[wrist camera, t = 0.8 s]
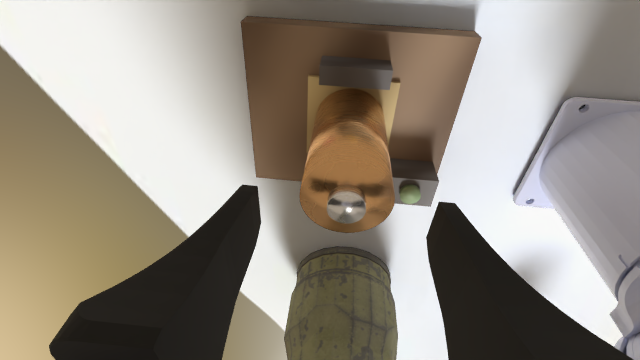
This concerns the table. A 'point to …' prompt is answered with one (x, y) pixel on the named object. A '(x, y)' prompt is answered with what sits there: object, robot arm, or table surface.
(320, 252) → the thermos
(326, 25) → the brown stand base
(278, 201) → the table surface
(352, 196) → the cell
